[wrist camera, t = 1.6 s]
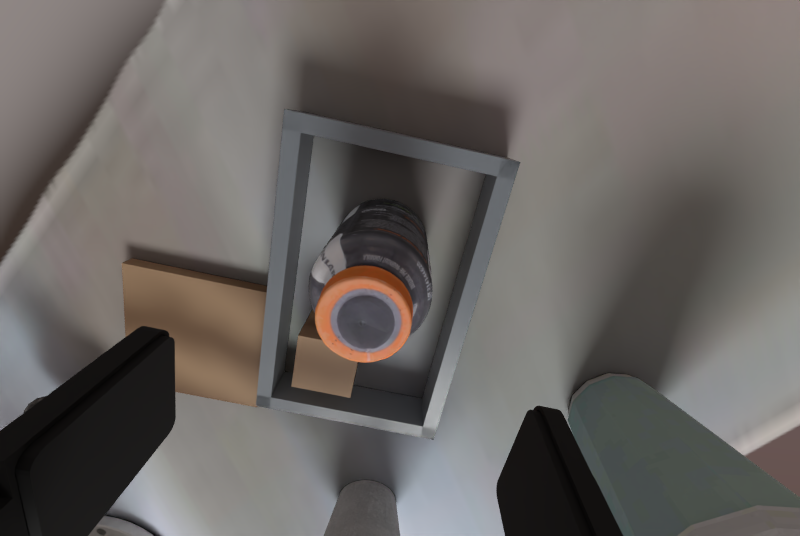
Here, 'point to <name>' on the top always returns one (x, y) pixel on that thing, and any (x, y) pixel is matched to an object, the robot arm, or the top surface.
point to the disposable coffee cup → (672, 467)
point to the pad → (201, 326)
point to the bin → (286, 236)
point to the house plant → (364, 511)
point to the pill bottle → (372, 282)
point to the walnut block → (321, 364)
